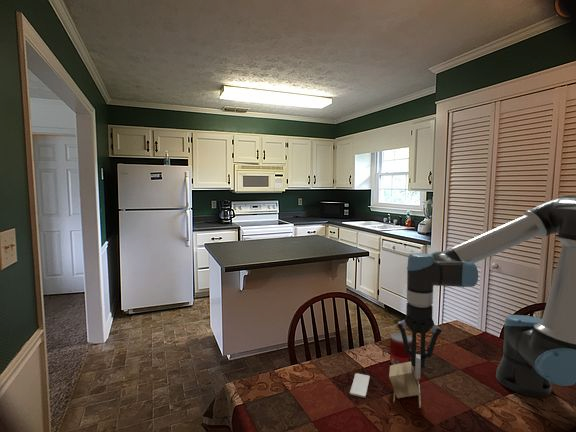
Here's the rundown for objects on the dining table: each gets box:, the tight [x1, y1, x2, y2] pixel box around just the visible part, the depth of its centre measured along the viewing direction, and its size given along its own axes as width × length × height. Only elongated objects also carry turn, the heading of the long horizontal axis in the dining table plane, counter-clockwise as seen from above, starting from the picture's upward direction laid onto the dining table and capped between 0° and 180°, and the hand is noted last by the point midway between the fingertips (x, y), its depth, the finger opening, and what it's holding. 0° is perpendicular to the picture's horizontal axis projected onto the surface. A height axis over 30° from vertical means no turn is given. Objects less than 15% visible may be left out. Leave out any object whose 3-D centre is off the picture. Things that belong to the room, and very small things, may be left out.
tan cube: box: [388, 362, 421, 399], centre depth 103 cm, size 7×7×7 cm
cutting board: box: [349, 372, 422, 409], centre depth 104 cm, size 30×12×1 cm, turn 69°
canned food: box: [389, 332, 412, 365], centre depth 120 cm, size 8×8×11 cm
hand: (417, 376), depth 101 cm, fingers closed
